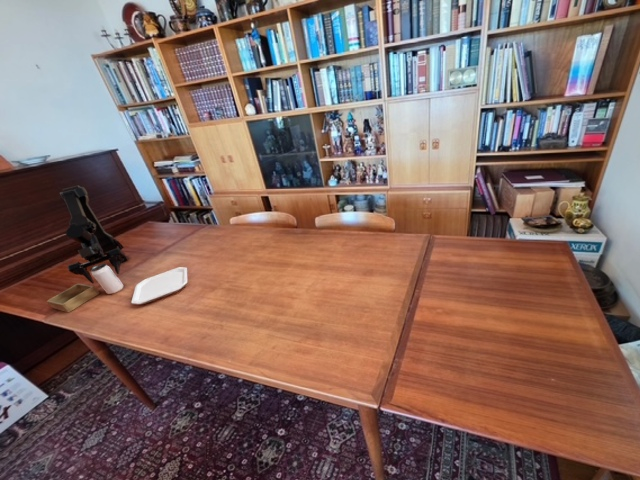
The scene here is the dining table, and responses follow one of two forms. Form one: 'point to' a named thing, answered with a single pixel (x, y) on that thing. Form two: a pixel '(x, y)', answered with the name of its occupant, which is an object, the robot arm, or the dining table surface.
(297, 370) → the dining table surface
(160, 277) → the plate
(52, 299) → the wooden frame
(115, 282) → the can
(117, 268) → the robot arm
